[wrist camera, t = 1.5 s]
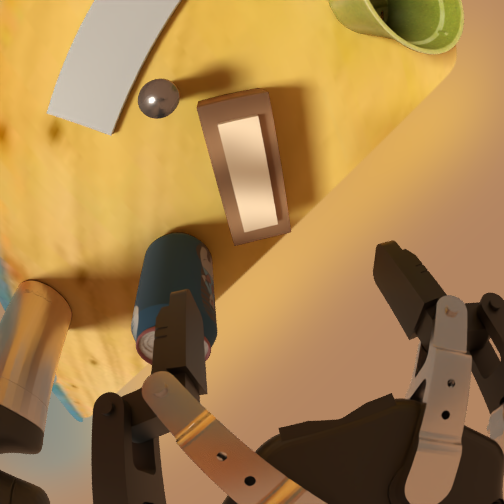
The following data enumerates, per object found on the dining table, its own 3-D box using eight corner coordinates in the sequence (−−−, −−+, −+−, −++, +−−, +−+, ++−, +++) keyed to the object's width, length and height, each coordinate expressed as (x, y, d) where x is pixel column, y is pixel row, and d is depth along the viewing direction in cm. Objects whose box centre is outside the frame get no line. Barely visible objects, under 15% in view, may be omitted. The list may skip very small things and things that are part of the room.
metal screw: (174, 114, 21) (167, 124, 17) (145, 102, 20) (131, 110, 16) (190, 84, 20) (186, 88, 16) (159, 72, 19) (148, 73, 15)
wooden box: (279, 208, 28) (292, 235, 24) (230, 220, 28) (235, 249, 24) (257, 87, 21) (270, 92, 17) (198, 101, 21) (196, 108, 17)
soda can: (136, 262, 29) (116, 357, 20) (166, 214, 26) (149, 309, 17) (190, 288, 32) (191, 380, 23) (224, 246, 30) (237, 342, 20)
